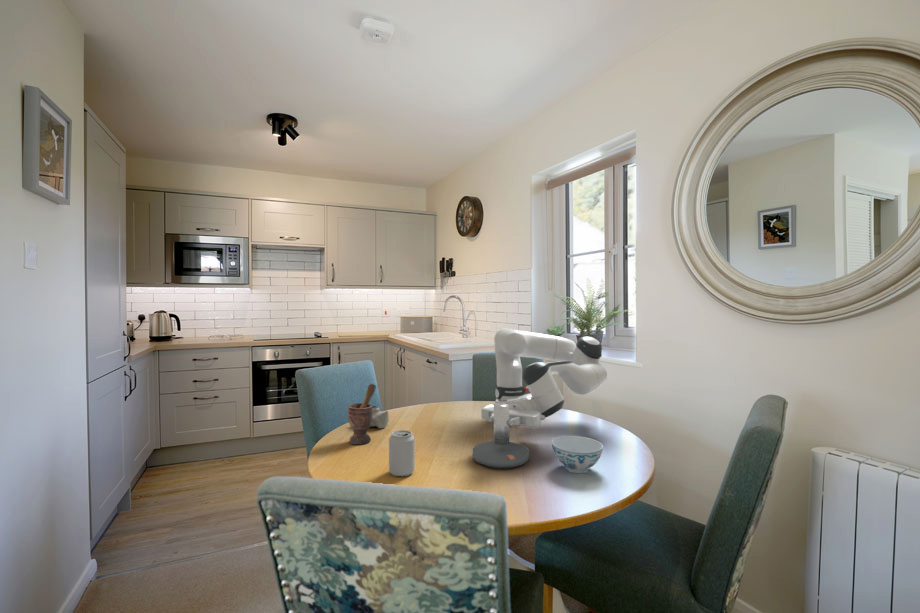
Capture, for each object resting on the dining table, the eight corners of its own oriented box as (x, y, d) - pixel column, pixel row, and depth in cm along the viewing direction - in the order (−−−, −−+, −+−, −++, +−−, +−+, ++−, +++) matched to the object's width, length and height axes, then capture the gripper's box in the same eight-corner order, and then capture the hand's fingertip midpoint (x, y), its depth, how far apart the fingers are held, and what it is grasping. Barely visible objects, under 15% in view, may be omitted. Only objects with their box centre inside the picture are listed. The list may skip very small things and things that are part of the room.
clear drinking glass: (505, 439, 139) (505, 402, 139) (512, 444, 135) (511, 406, 134) (491, 441, 138) (491, 404, 138) (497, 446, 133) (497, 407, 133)
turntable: (464, 450, 142) (464, 442, 142) (513, 444, 148) (513, 436, 148) (485, 470, 125) (485, 461, 125) (539, 462, 131) (539, 454, 131)
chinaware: (572, 482, 119) (572, 455, 119) (541, 463, 133) (541, 439, 133) (613, 474, 125) (613, 448, 125) (580, 456, 139) (580, 433, 139)
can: (409, 479, 122) (409, 437, 121) (385, 476, 123) (385, 435, 123) (417, 469, 129) (417, 429, 129) (394, 467, 130) (394, 428, 130)
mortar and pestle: (357, 434, 162) (357, 382, 162) (379, 435, 161) (379, 383, 160) (344, 444, 151) (344, 388, 150) (367, 446, 149) (367, 389, 149)
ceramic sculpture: (378, 409, 165) (349, 407, 172) (379, 432, 165) (350, 429, 172) (395, 404, 174) (367, 402, 181) (396, 425, 174) (368, 422, 181)
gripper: (547, 425, 141) (530, 436, 130) (492, 416, 152) (473, 426, 141) (547, 406, 141) (530, 416, 130) (492, 399, 152) (473, 407, 141)
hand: (500, 421), depth 135 cm, fingers closed on clear drinking glass, 5 cm apart
